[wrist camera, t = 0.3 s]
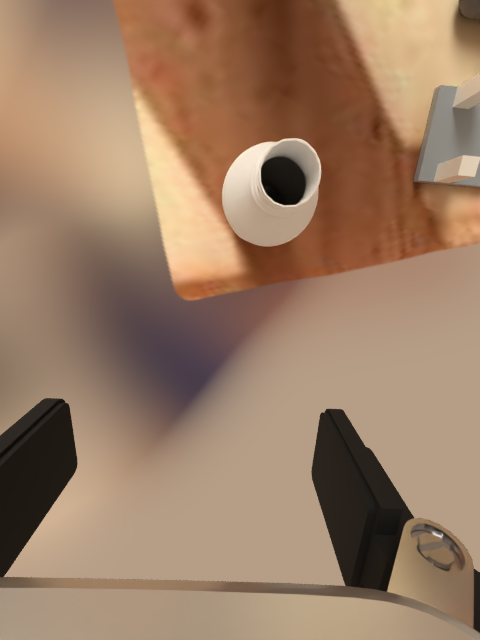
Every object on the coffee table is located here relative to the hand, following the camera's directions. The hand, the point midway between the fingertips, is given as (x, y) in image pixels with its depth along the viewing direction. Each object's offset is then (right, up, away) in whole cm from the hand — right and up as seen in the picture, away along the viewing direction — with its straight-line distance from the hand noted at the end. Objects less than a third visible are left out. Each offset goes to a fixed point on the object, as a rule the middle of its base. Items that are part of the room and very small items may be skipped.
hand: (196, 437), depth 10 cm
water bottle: (+4, +19, +27) cm, 33 cm away
